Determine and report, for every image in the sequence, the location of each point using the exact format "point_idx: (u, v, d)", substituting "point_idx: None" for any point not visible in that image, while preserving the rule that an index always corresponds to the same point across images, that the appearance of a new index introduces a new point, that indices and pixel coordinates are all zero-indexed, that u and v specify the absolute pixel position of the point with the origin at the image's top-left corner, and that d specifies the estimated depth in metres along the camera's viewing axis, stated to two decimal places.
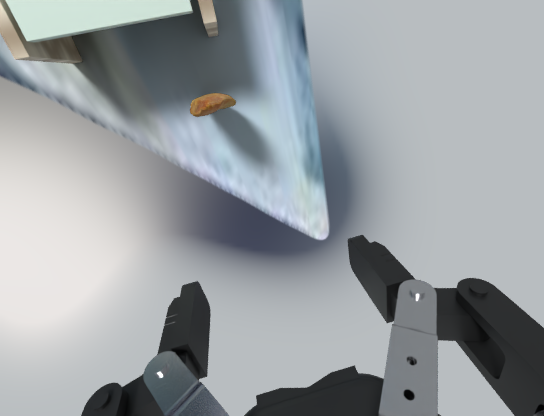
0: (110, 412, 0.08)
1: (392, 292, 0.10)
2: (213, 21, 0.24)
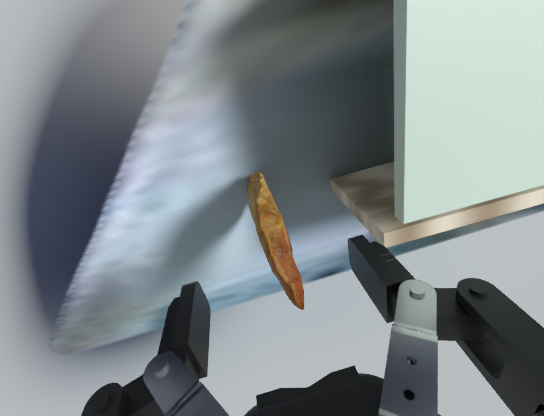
0: (110, 412, 0.08)
1: (392, 292, 0.10)
2: (384, 243, 0.17)
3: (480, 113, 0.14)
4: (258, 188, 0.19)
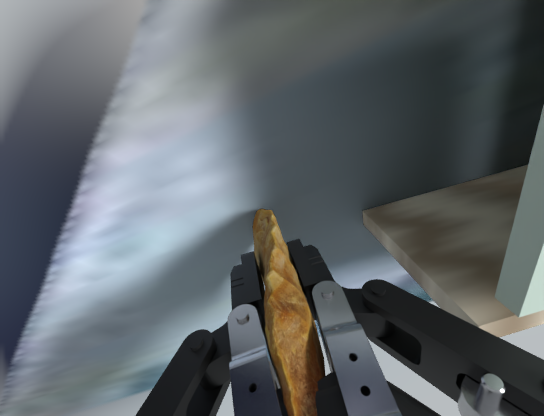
0: (206, 351, 0.09)
1: (310, 292, 0.11)
2: None
3: None
4: (269, 245, 0.12)
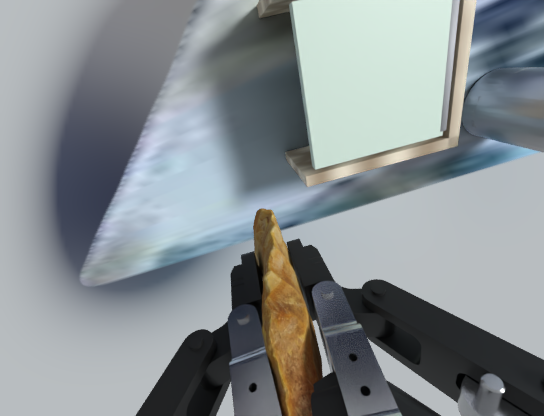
0: (206, 351, 0.09)
1: (310, 292, 0.11)
2: (307, 184, 0.28)
3: (349, 103, 0.25)
4: (268, 245, 0.12)
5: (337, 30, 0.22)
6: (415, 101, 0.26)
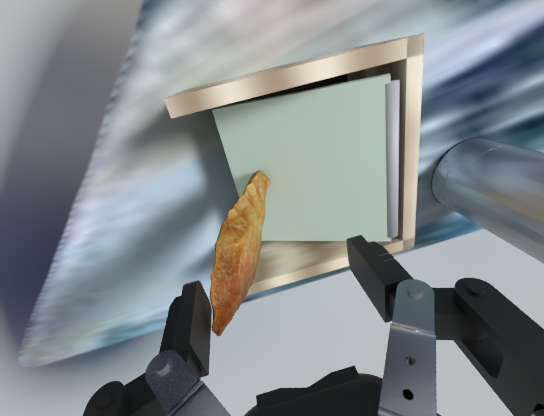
0: (112, 410, 0.08)
1: (390, 292, 0.10)
2: None
3: (276, 194, 0.25)
4: None
5: (255, 134, 0.23)
6: (350, 203, 0.24)
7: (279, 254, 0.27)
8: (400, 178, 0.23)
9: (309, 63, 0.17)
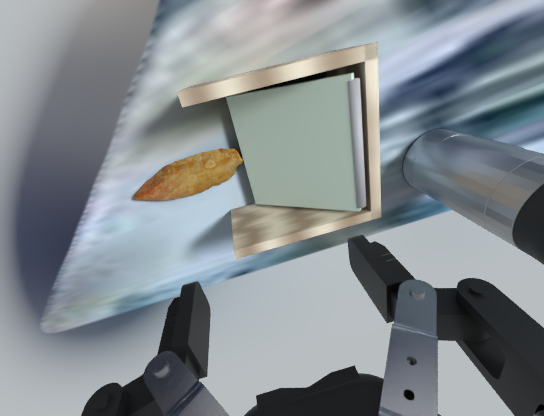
0: (110, 412, 0.08)
1: (392, 292, 0.10)
2: (236, 256, 0.30)
3: (272, 166, 0.32)
4: None
5: (256, 117, 0.30)
6: (327, 177, 0.29)
7: (269, 225, 0.33)
8: (366, 158, 0.28)
9: (288, 65, 0.22)
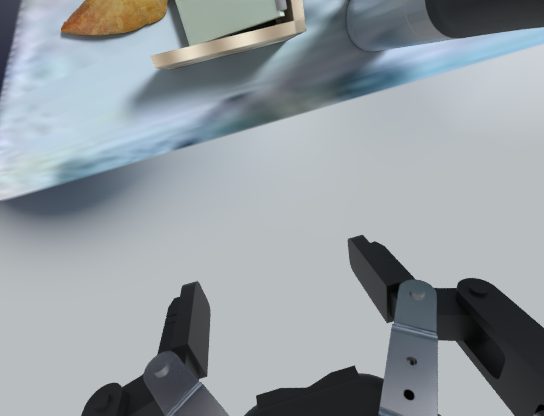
0: (110, 412, 0.08)
1: (392, 292, 0.10)
2: (154, 64, 0.29)
3: None
4: None
5: None
6: None
7: None
8: None
9: None
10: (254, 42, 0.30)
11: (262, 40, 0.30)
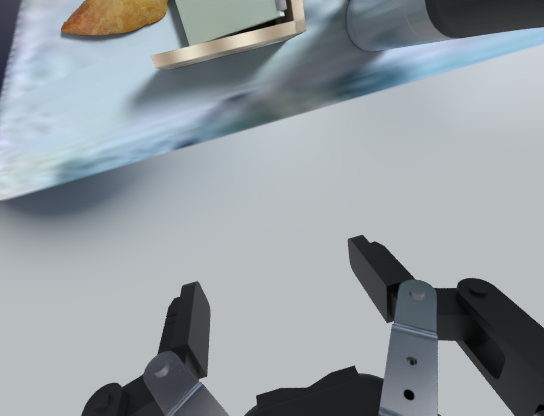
0: (110, 412, 0.08)
1: (392, 292, 0.10)
2: (154, 64, 0.29)
3: None
4: None
5: None
6: None
7: None
8: None
9: None
10: (254, 42, 0.30)
11: (262, 40, 0.30)
